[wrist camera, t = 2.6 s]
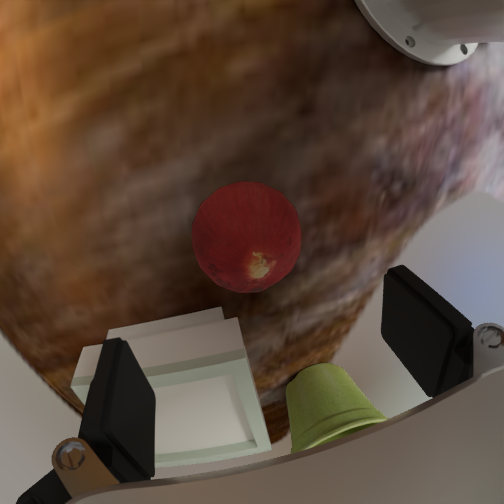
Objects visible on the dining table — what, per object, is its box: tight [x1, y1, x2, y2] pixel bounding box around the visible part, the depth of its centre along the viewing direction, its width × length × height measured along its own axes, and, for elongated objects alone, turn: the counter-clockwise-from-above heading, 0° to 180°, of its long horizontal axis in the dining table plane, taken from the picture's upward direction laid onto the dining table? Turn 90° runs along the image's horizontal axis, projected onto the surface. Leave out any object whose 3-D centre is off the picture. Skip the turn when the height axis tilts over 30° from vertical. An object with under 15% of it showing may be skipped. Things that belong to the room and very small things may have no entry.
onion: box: [192, 181, 302, 293], centre depth 17 cm, size 6×6×8 cm
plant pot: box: [285, 363, 389, 454], centre depth 25 cm, size 9×9×9 cm
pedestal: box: [70, 307, 272, 468], centre depth 22 cm, size 11×11×7 cm
